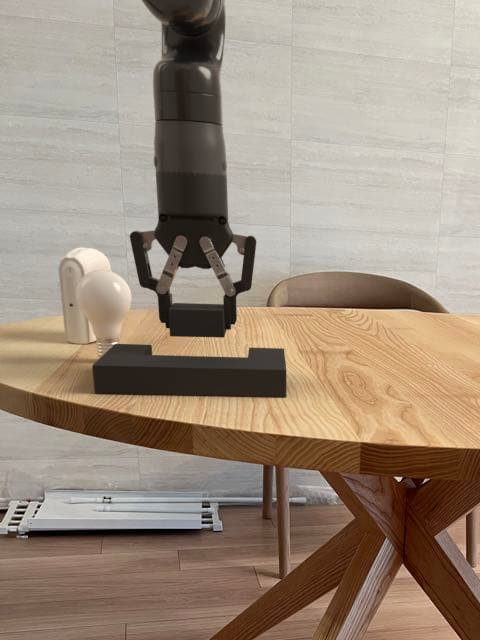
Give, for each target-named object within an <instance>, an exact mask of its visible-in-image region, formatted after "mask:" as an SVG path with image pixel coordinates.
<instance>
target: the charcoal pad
mask: <svg viewBox="0 0 480 640" xmlns="http://www.w3.org/2000/svg"><path fill="white" fill-rule="evenodd" d="M91 367H92V368H91V369H92V378H93V392H94V394H96V395H98V394H100V395H101V394H102V395H143V396H144V395H150V396H152V395H153V396H196V397H197V396H202V397H203V396H204V397H205V396H206V397H253V398H254V397H256V398H260V397H261V398H287V362H286V354H285V348H281V347H280V348H278V347H248V353H247V357H244V356H243V357H239V356H208V355H207V356H206V355H205V356H203V355H169V354H168V355H167V354H153V346H152V344H138V343H136V344H135V343H119V344H114V345H113V346H112V347H111V348H110V349H109V350H108V351H107V352H106V353H105V354H104V355H103V356H102V357H101V358H100V357H99V358H98V359H97V360H96V361H95V362H94V363H93V364H92V366H91Z"/></svg>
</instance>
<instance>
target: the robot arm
mask: <svg viewBox="0 0 480 640" xmlns="http://www.w3.org/2000/svg"><path fill="white" fill-rule="evenodd" d="M141 2H142V3H143V5H144V6H145V7H146V9H147V10H148V11H149V13H150V14H151V15H152V16H153V17H154V18H155V19H156V20H157V21H159V22H160V24H161V58H160V60H159V61H158V62H157V63H156V64H155V66H154V69H153V72H152V73H153V74H152V93H153V109H154V121H155V122H154V139H153V140H154V141H153V151H154V156H153V166H154V168H155V183H156V185H155V186H156V199H157V202H156V203H157V216H158V221H157V224H156V226H155V229H154V230H144V231H140V230H133V231H132V232H130V234H129V240H130V245H131V250H132V254H133V259H134V265H135V269H136V274H137V278H138V283H139V286H140V287H141V288H144V289H148V290H151V291H153V292H155V294H156V296H157V306H158V307H157V308H158V319H159V321H160V323H161V324H165V329H169V313H168V309H169V308H170V307H171V306H172V305H173V304H174V302H173V293H171V289H170V288H171V286H172V284H173V282H174V279H175V276H176V275H177V272H178V271H179V268H181V269H191V268H198V269H201V270H210V269H212V270H213V273H214V275H215V277H216V278H217V280H218V282H219V283H220V286H221V288H222V290H223V291H224V295H223V296H222V299H223V304H224V319H225V330H226V331H231V330H232V326H233V325H236V323H237V320H238V314H237V313H238V311H237V310H238V309H237V296H238V295H239V294H241V293H245V292H248V291H250V290H251V289H252V284H253V275H254V268H255V267H254V266H255V258H256V250H257V238H256V237H255V235H252V234H251V235H244V234H243V235H242V234H238V233H234V232H233V231H232V228H231V226H230V223H229V205H228V204H229V203H228V202H229V200H228V179H227V178H228V174H227V173H228V171H227V168H228V164H227V163H228V162H227V150H226V149H227V148H226V142H225V135H224V126H223V125H224V123H223V122H224V118H223V93H222V83H221V82H222V81H221V75H222V67H223V59H224V51H225V50H224V49H225V40H226V26H227V25H226V23H227V20H226V19H227V17H226V15H227V13H226V2H225V0H141ZM154 240H156V241H157V243H158V244H159V245H160V246H161V247H162V249H163V250H164V252H165V253H166V254H167V256H168V257H167V259H166V262H165V265H164V267H163V269H162V272H161V275H160V276H159V279H158V278H156V277H153V273H152V267H151V263H150V258H149V254H148V253H149V251H151V250H152V249H153V242H154ZM232 243H233V244H234V245H235V246H236V249H237V250H236V251H237V253H238V254H239V255H241V256H243V258H242V259H243V260H242V268H241V276H240V280H236V281H234V280H233V278H232V277H231V275H230V272H229V270H228V267H227V266H226V263H225V262H224V259H223V256H224V255H225V254H226V252H227V250H228V249H229V247H230V246H231V244H232Z"/></svg>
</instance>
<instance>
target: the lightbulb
mask: <svg viewBox="0 0 480 640" xmlns="http://www.w3.org/2000/svg"><path fill="white" fill-rule="evenodd" d="M76 297H77V302H78V305H79V307H80V309H81V310H82V312H83V313H84V315H85V316H86V317H87V319H88V320H89V322H90V323H91V326H92V330H93V333H94V335H95V336H96V341H95V342H96V345H97V346H96V348H97V350H96V352H97V357H98V358H99V359H100V358H101V357H102V356H103V355H104V354H105V353H106V352H107V351H108V350H109V349H110V348H111V347H112V346H113V345H114V344H120V336H121V333H122V327H123V323H124V320H125V318H126V317H127V315H128V314H129V312H130V310H131V307H132V303H133V302H132V301H133V298H132V292H131V288H130V286H129V285H128V283H127V282H126V280H125V279H124V278H123V277H122V276H121V275H120V274H118V273H116V272H114V271H112V270H111V271H109V270H103V269H99V270H94V271H91V272H89V273H87V274H86V275H84V276H83V277H82V279H81V280H80V282H79V283H78V286H77V290H76Z"/></svg>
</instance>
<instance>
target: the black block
mask: <svg viewBox="0 0 480 640" xmlns="http://www.w3.org/2000/svg"><path fill="white" fill-rule="evenodd" d="M168 313H169V328H168V330H169V337H173V338H175V337H179V338H180V337H181V338H220V339H221V338H223V339H224V338H225V336H226V334H227V330H225V319H224V303H223V304H222V303H191V302H190V303H189V302H187V303H186V302H173V305H172V306H171V307H170V308H169V309H168Z"/></svg>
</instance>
